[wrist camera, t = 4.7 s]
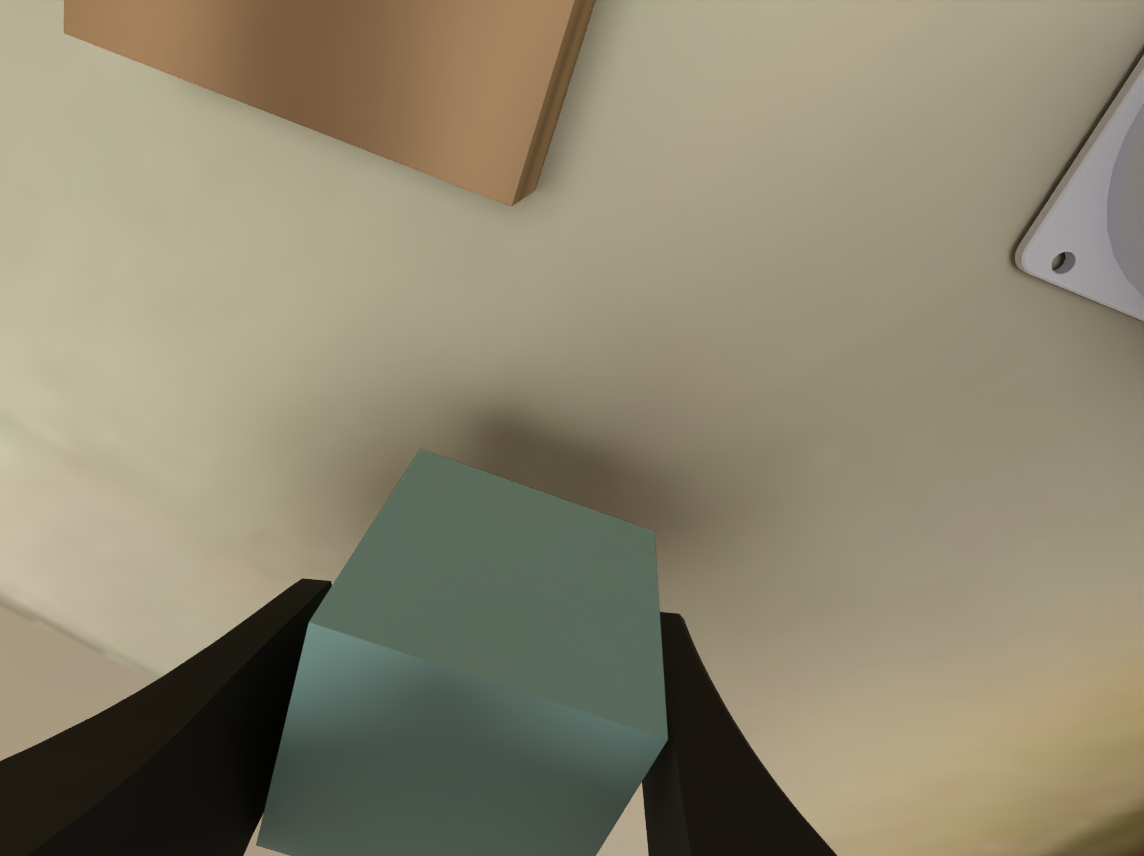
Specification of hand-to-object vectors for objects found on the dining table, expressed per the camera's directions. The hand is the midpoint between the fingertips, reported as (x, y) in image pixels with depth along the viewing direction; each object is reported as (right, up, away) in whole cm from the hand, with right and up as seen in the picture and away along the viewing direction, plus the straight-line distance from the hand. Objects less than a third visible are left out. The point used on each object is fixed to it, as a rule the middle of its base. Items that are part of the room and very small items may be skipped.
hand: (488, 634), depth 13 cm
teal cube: (0, +1, +2) cm, 2 cm away
